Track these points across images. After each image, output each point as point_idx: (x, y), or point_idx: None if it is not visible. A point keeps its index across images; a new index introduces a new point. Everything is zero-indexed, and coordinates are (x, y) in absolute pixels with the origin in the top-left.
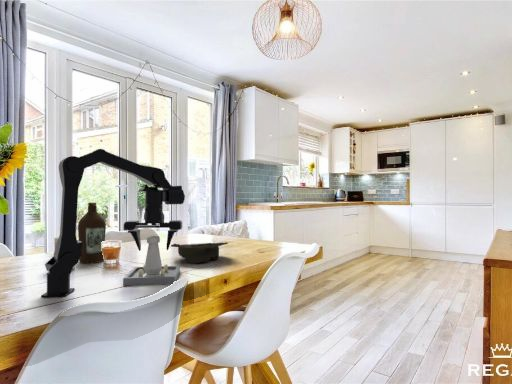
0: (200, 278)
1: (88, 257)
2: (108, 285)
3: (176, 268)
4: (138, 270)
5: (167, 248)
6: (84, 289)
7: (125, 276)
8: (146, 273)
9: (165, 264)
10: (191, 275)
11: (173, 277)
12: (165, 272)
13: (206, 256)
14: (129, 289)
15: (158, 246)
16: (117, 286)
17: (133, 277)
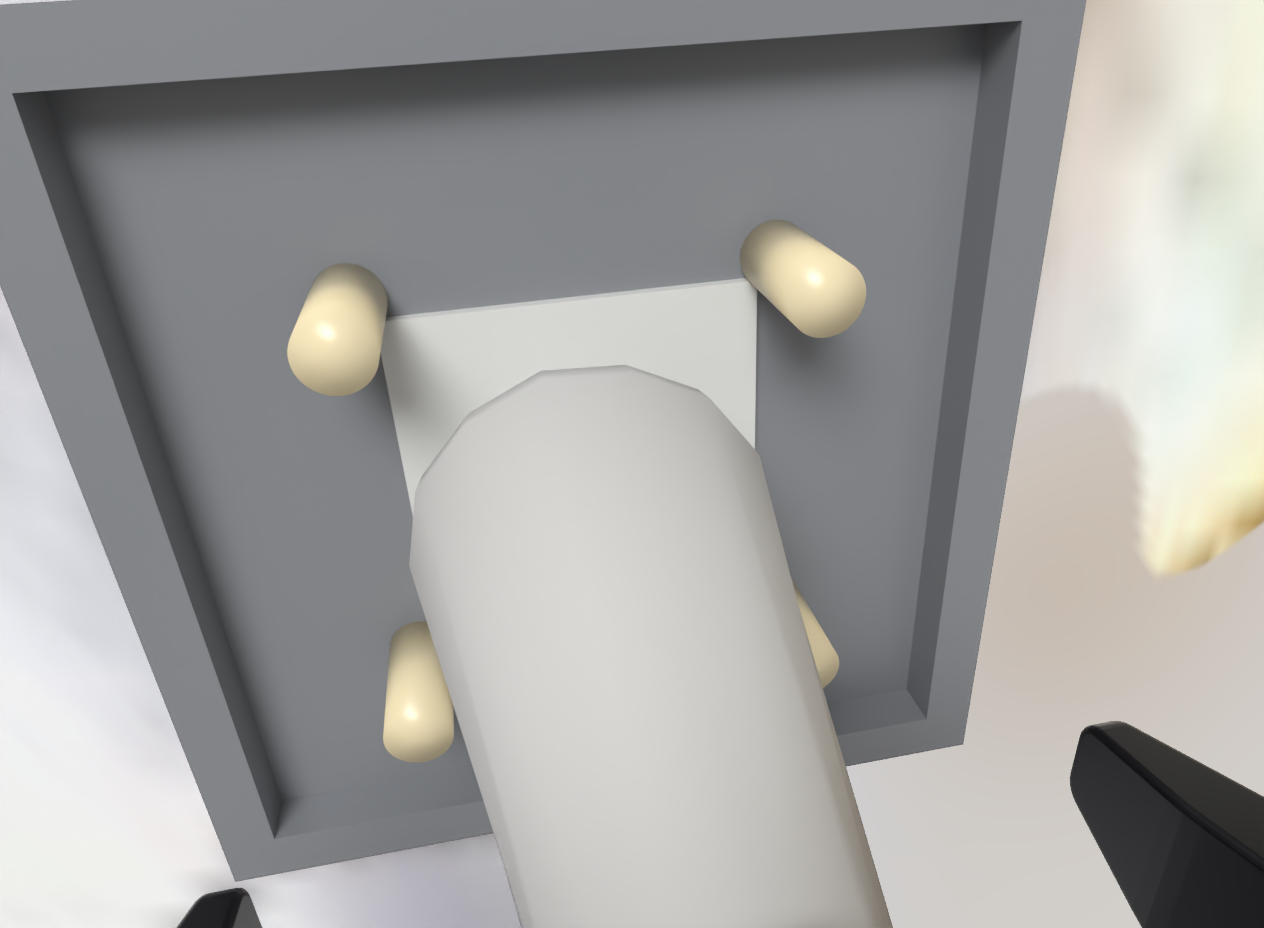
0: (1260, 440)
1: None
2: (34, 821)
3: (1004, 240)
4: (94, 122)
5: (1121, 842)
6: None
7: (216, 807)
8: (436, 448)
9: (816, 279)
10: (1177, 266)
11: (940, 738)
12: (774, 321)
13: None
14: (429, 906)
15: (886, 916)
16: (204, 840)
17: (381, 835)
